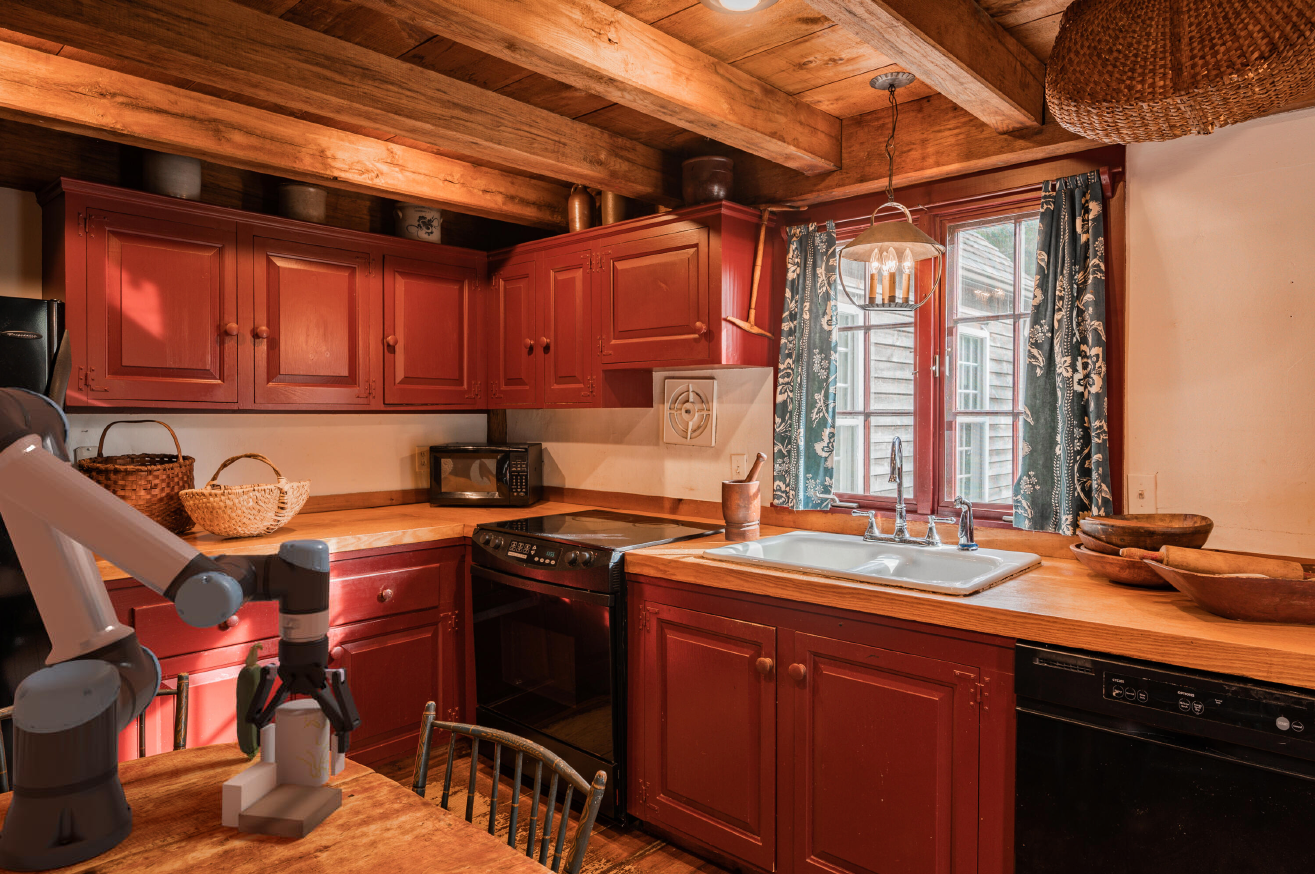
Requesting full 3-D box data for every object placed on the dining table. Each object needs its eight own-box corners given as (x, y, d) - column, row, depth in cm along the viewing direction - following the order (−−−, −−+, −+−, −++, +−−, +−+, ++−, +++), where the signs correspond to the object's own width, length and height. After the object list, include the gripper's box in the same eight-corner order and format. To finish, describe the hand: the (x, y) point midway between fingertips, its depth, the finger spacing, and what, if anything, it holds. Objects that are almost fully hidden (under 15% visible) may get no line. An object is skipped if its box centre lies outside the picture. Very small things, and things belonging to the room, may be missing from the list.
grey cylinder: (308, 794, 125) (309, 718, 125) (262, 788, 126) (263, 713, 126) (339, 772, 133) (340, 700, 133) (295, 767, 134) (296, 696, 134)
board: (238, 834, 113) (238, 813, 113) (281, 802, 123) (281, 783, 123) (303, 841, 112) (303, 820, 112) (341, 808, 121) (341, 788, 121)
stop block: (222, 825, 115) (222, 783, 115) (258, 799, 123) (258, 761, 123) (241, 827, 114) (241, 785, 114) (275, 801, 122) (276, 762, 122)
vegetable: (230, 761, 136) (231, 645, 136) (244, 751, 140) (245, 638, 140) (255, 762, 136) (257, 645, 136) (268, 752, 140) (270, 639, 140)
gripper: (220, 637, 127) (219, 772, 128) (360, 646, 124) (359, 785, 124) (251, 626, 135) (250, 753, 135) (384, 634, 131) (382, 765, 131)
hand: (302, 768), depth 130 cm, fingers open, 12 cm apart
